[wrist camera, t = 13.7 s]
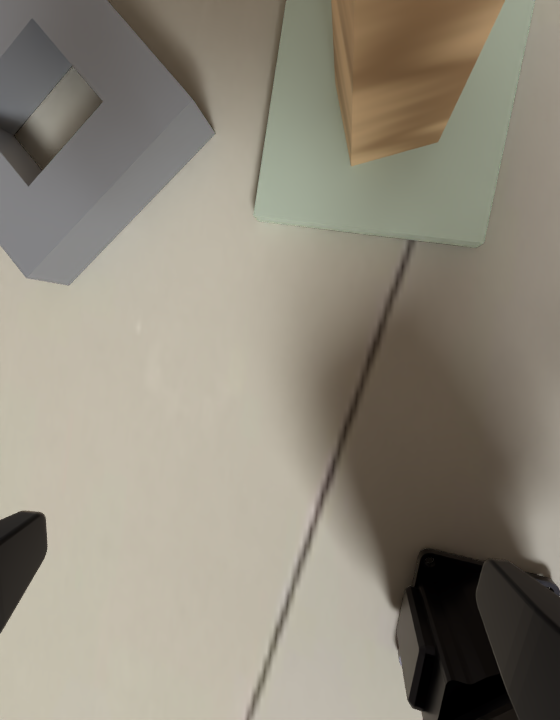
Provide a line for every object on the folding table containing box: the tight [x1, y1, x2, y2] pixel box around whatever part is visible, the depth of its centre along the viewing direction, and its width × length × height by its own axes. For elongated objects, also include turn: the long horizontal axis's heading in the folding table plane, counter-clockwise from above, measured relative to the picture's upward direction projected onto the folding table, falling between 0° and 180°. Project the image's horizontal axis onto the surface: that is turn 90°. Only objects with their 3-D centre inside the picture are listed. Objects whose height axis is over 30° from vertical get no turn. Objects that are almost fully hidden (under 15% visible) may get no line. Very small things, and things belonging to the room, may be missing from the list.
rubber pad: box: [253, 0, 535, 248], centre depth 18 cm, size 11×11×1 cm
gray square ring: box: [0, 0, 215, 285], centre depth 20 cm, size 12×12×3 cm
